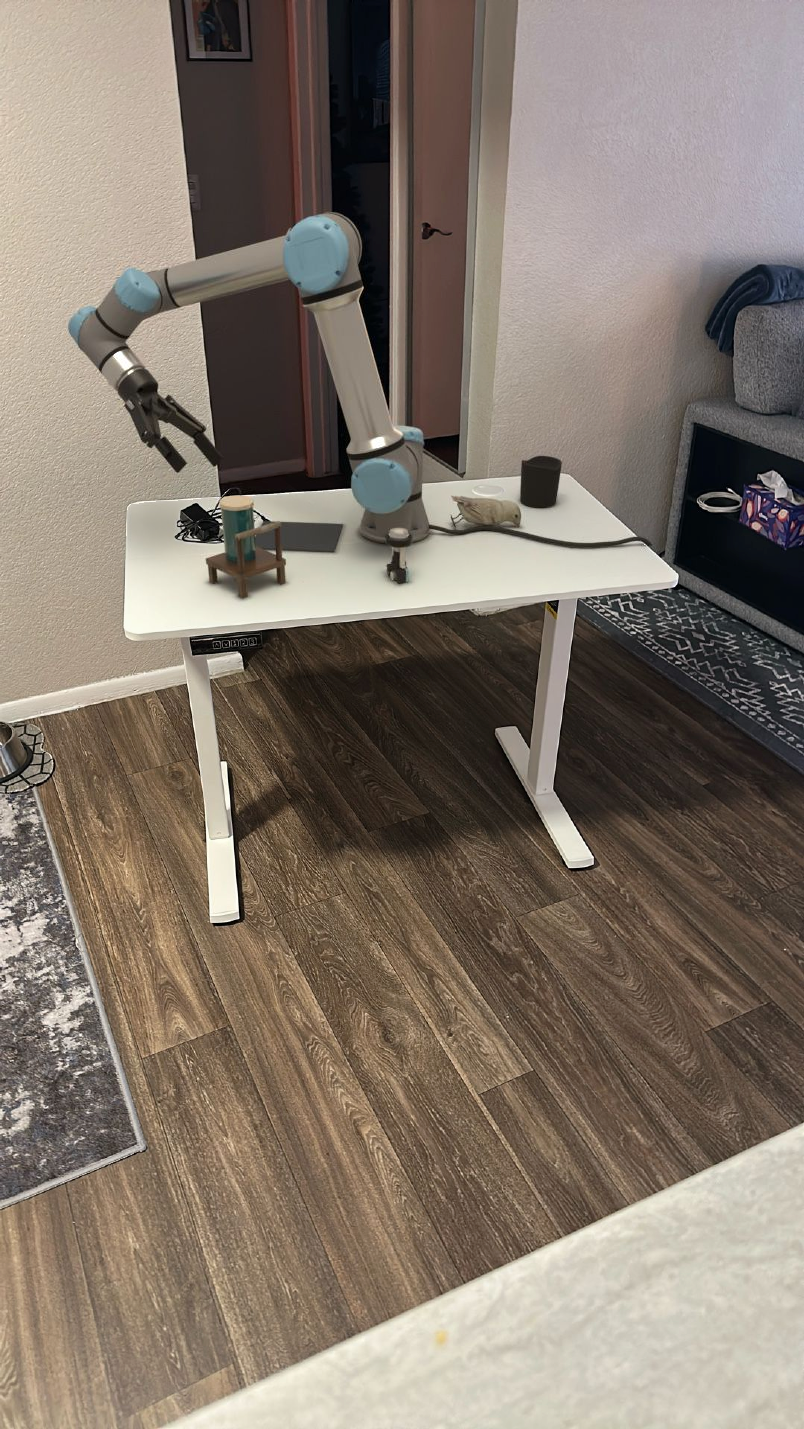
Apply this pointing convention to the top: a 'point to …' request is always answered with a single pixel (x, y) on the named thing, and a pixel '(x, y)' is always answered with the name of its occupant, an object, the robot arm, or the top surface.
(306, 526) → the mat
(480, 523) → the decorative bird
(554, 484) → the pen holder
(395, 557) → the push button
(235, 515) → the canister
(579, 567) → the top surface
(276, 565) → the miniature wooden chair
